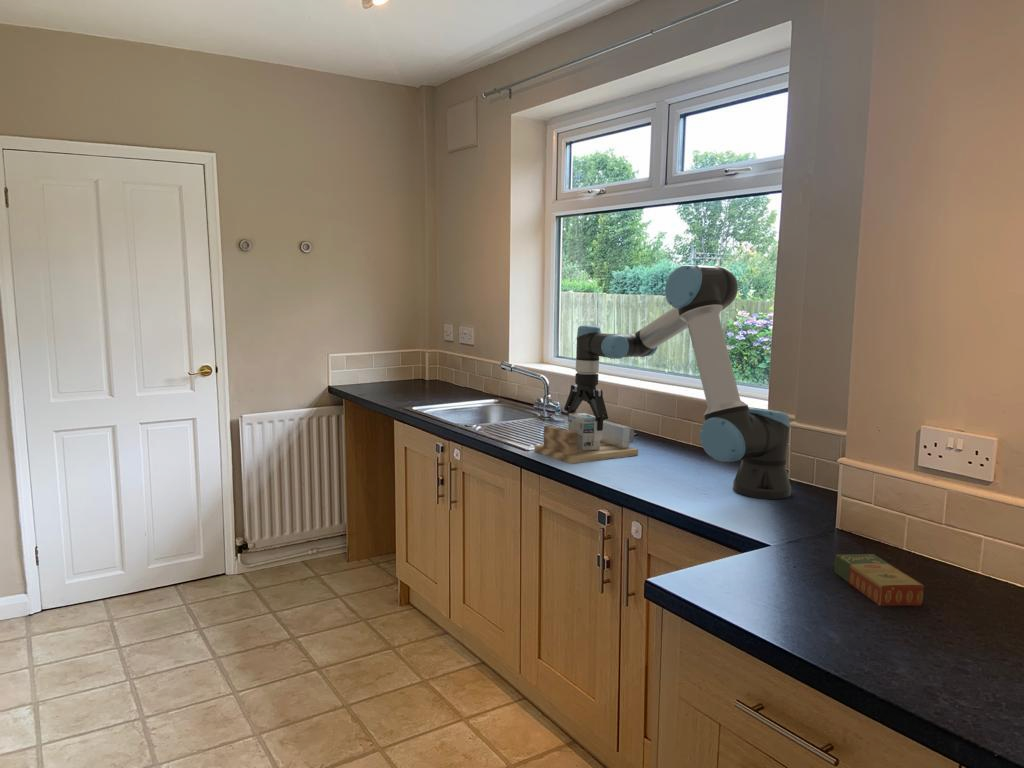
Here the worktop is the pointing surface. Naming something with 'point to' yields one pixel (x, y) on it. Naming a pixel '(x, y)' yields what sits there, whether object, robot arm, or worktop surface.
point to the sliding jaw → (617, 434)
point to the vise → (565, 447)
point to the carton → (879, 580)
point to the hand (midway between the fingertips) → (584, 436)
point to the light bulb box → (584, 431)
